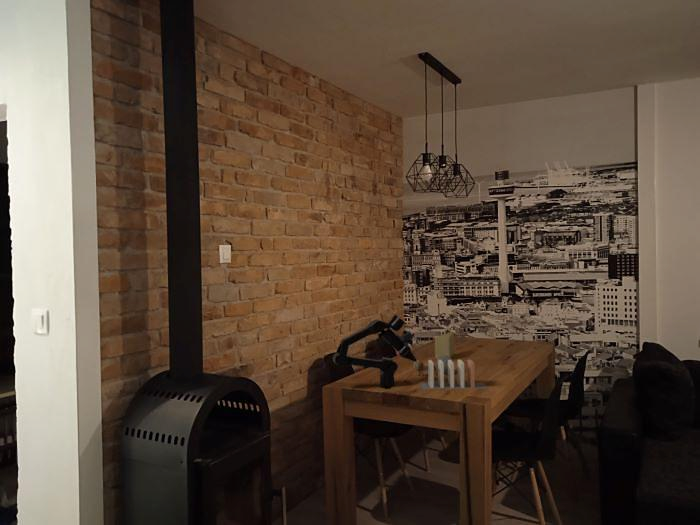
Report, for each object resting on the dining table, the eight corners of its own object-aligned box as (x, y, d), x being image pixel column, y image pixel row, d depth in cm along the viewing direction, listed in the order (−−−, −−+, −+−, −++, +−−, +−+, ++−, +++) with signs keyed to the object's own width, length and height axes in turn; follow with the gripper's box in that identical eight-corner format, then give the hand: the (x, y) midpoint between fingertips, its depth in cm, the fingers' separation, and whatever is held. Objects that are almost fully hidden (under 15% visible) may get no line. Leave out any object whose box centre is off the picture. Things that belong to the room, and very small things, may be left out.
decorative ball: (454, 375, 310) (454, 357, 310) (435, 375, 312) (435, 357, 312) (454, 371, 320) (453, 354, 320) (436, 371, 322) (436, 353, 322)
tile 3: (450, 387, 281) (450, 363, 280) (447, 383, 290) (447, 359, 290) (454, 387, 281) (453, 363, 280) (451, 383, 290) (450, 359, 290)
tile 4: (461, 387, 281) (460, 363, 280) (457, 383, 290) (457, 359, 290) (464, 387, 281) (464, 363, 280) (461, 383, 290) (460, 359, 290)
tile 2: (440, 387, 281) (440, 363, 281) (438, 383, 290) (437, 359, 290) (443, 387, 281) (443, 363, 281) (441, 383, 290) (441, 359, 290)
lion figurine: (416, 378, 306) (416, 361, 306) (411, 376, 311) (411, 359, 311) (440, 375, 312) (439, 358, 312) (434, 373, 317) (434, 357, 317)
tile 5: (471, 387, 280) (471, 363, 280) (467, 383, 290) (467, 359, 290) (474, 387, 280) (474, 363, 280) (470, 383, 290) (470, 359, 290)
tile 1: (430, 387, 281) (430, 363, 281) (428, 383, 291) (428, 359, 290) (433, 387, 281) (433, 363, 281) (431, 383, 291) (431, 359, 290)
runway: (422, 389, 279) (422, 388, 279) (419, 383, 292) (419, 382, 292) (488, 389, 279) (488, 388, 279) (482, 383, 292) (482, 382, 292)
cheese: (446, 353, 377) (445, 331, 377) (460, 354, 372) (460, 331, 372) (434, 359, 357) (434, 335, 357) (449, 360, 353) (449, 336, 353)
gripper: (404, 329, 277) (428, 350, 277) (400, 324, 295) (423, 344, 296) (389, 346, 277) (413, 367, 277) (386, 340, 295) (408, 359, 296)
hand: (415, 359), depth 286 cm, fingers open, 9 cm apart
